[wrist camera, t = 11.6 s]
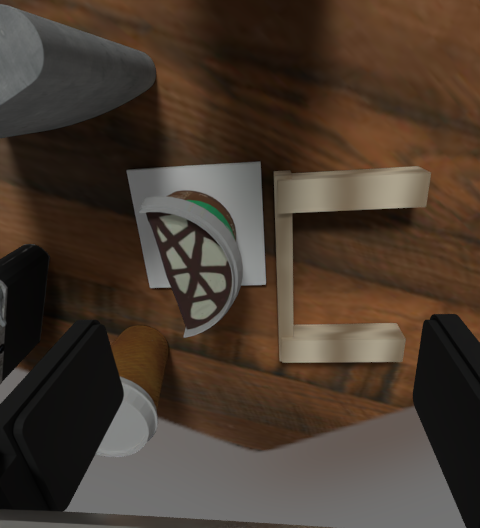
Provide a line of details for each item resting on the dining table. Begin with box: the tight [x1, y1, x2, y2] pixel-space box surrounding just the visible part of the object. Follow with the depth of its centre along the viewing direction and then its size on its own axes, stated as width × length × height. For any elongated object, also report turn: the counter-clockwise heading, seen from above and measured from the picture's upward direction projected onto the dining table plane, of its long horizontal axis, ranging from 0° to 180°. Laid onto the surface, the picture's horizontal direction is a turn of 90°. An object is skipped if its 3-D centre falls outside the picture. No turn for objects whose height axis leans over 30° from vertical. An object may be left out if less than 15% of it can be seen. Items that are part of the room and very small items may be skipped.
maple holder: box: [274, 166, 431, 363], centre depth 37 cm, size 13×21×3 cm, turn 4°
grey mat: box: [126, 161, 266, 288], centre depth 37 cm, size 13×13×1 cm
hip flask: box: [0, 4, 156, 138], centre depth 24 cm, size 16×4×20 cm, turn 107°
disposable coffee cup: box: [96, 325, 169, 457], centre depth 39 cm, size 10×10×12 cm
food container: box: [139, 190, 243, 338], centre depth 32 cm, size 12×6×10 cm, turn 13°
